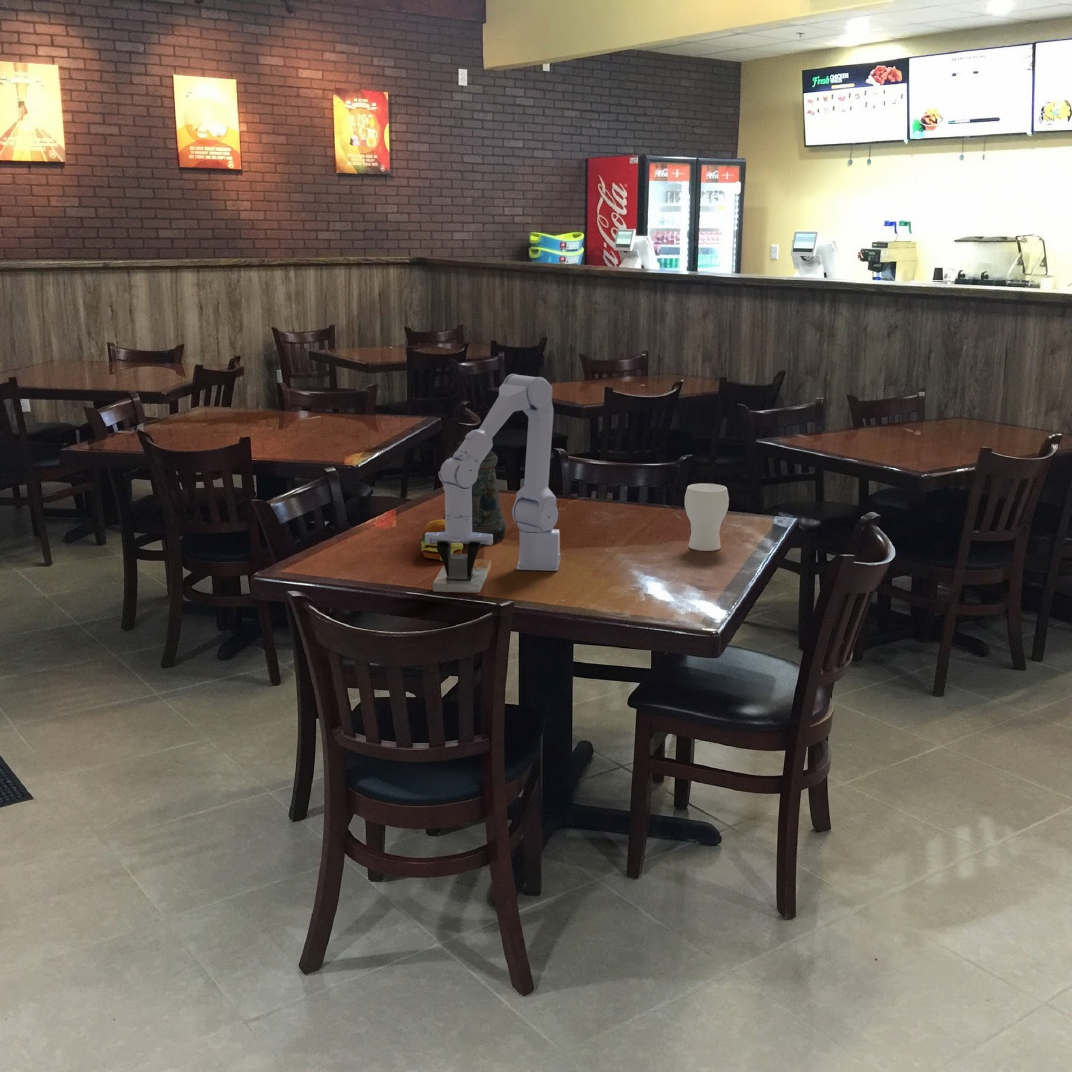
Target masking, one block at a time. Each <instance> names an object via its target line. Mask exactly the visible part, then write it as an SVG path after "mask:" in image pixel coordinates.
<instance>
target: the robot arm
mask: <svg viewBox="0 0 1072 1072" xmlns="http://www.w3.org/2000/svg"><path fill="white" fill-rule="evenodd" d="M553 390H554V389H553V386H552V385H551V384H550V383H549V381H548V380H547V379H546V378H544V377H542V376H529V375H519V374H516V373H511V374H508V375H507V376H506V377H505V379H504V381H503V383H502V384H501V385H500V386H499V388H498V397H497V398H496V400H495V402H494V403H493V405H492V407H491V408H490V409H489V411H488V413H487V414H486V416H485V418H484V420H483V422H482V423H481V425H480V426H479V428H478V429H472V430H471V431H470V432H467V434H466V435H465V436H464V438H466V439H465V440H464V442H463V443H462V444H461V446H460V447H459V449H458V450H457V452H455V453H454V456H453V457H452V458H449V457H448V458H449V459H448V458H447V459H446V460H445V461H444V462H443V463H442V464H441V467H440V470H439V471H438V477H439V480H440V481H441V484H442V487H443V488H442V490H443V491H444V509H445V510H444V514H445V529H446V532H430V533H429V532H427V533H426V534H425V543H430V542H431V543H437V547H436V548H437V551H438V552H439V554H440V556H441V558H442V561H441V562H442V563H443V565H444V566H445V570H446V575H447V576H449V557H450V556H451V543H469V545H467V547H466V549H467V551H466V552H467V554H468V577H471V576H472V572H473V566H474V562H475V559H477V555H478V553H479V551H480V548H481V546H482V545H481V544H485V545H487V546H492V545H493V544H494V543H493V534H484V533H475V532H472V485H473V484H474V483H475V482H476V480H477V477H478V470H479V467H480V464H481V463H482V461H483V460H484V458H485V457H486V455H487V454H488V453H489V451H490V450H491V451H492V448H493V447H494V446H493V445H494V443H493V438H494V436H495V435H496V434H497V433H498V432H499V430H500V429H501V428H502V427H503V425H504V424H505V423H506V422H507V420H508V419H509V418H510V416H511V415H513V413H514V412H520V411H523V413H525V415H526V416H527V418H528V423H527V425H528V426H527V438H526V439H527V440H526V449H525V450H526V454H525V464H524V465H525V466H524V468H525V469H524V480H523V481H524V483H523V486H522V487H521V488H520V489H518V491H517V492H516V494H515V495H516V496H515V502H514V504H513V506H512V509H511V514H512V518H513V521H514V522H515V523H516V524H517V525H516V526H517V528H518V529H519V531H518V532H519V533H518V534H519V537H518V540H519V541H518V543H519V545H518V546H519V550H518V552H519V553H518V554H519V557H518V562H517V565H516V567H515V570H516V571H517V570H519V571H549V572H550V571H552V572H553V571H554V572H555V571H556V572H557V571H558V570H559V567H560V566H559V565H560V563H561V555H562V554H561V553H560V552H561V551H560V550H561V547H560V546H561V539H560V538H561V534H560V532H561V531H560V529H556V528H554V527H555V526H556V524H557V522H558V518H559V510H558V507H557V497H556V496H555V494H554V492H553V491H552V490H550V488H549V482H550V481H549V480H550V467H551V456H552V455H551V453H552V452H551V451H552V441H553V440H552V438H553V426H554V425H553V423H554V406H553V401H552V400H553Z"/></svg>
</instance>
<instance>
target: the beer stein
mask: <svg viewBox="0 0 1072 1072" xmlns="http://www.w3.org/2000/svg"><path fill="white" fill-rule="evenodd" d="M465 439H466V438H465V437H463V438H462V440H461V441H459V442H456V444H455V445H454V446H455V447H454V450H453V451H452V452H451V453H450V454H449V456H448V458H447V459H449V458H452V457H453V456H454V453H455V452H457V450H458V449H459V447H460V446H461V444H462V443H463V442H464V440H465ZM498 459H499V458H498V456H497V454H495V452H494V451H492V449H491V450H490V451H489V453H488V454H487V455H486V457H485V458H484V460H483V461H482V463H481V464H480V467H479V470H478V477H477V480H476V482H475V483H474V484H473V485H472V532H475V533H484V534H493V544H496V543H499V542H500V541H503V540H504V539H505V533H506V528H507V522H506V520H505V518H504V515H503V512H502V507H501V502H500V495H499V490H498V489H499V488H498V483H497V482H498V481H497V475H496V466H497V463H498ZM442 519H444V520H445V513H444V514H443V518H442ZM462 544H463V546H464V545H465V546H468V545H469V543H462ZM482 545H483V546H484V545H486V544H481V546H482Z"/></svg>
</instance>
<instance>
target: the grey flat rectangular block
mask: <svg viewBox="0 0 1072 1072" xmlns="http://www.w3.org/2000/svg"><path fill="white" fill-rule="evenodd" d="M491 568H492V559H491V558H476V559H475V562H474V566H473V572H472V576H471V577H470V581H449V576H447V575H446V570H445V566H444V564H443V566H442V567H441V569H440V570H439V572H438V574H437V575H436V577H435V579H433V582H432V592H441V593H442V592H443V593H444V592H445V593H448V592H449V593H475V594H476V593H480V592H481V591H482V588H483V586H484V584H485V581H486V579H487V576H488V575H489V572H490V570H491Z"/></svg>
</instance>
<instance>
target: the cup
mask: <svg viewBox="0 0 1072 1072" xmlns="http://www.w3.org/2000/svg"><path fill="white" fill-rule="evenodd" d="M729 502H730V498H729V491H728V488H727V487H726V485H722V484H716V483H694V484H690V485H688V486H687V487H686V491H685V495H684V509H685V512H686V515H687V518H688V520H689V522H690V530H691V534H690V537H689V540H688V541H689V542H688V548H690V549H692V550H695V551H700V552H702V551H703V552H710V551H711V552H713V551H714V552H715V551H717V550H720V549H721V548H722V547H721V537H720V531H721V527H722V526H721V525H722V522H723V521H724V519H725V517H726V515H727V512H728V509H729Z"/></svg>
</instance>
